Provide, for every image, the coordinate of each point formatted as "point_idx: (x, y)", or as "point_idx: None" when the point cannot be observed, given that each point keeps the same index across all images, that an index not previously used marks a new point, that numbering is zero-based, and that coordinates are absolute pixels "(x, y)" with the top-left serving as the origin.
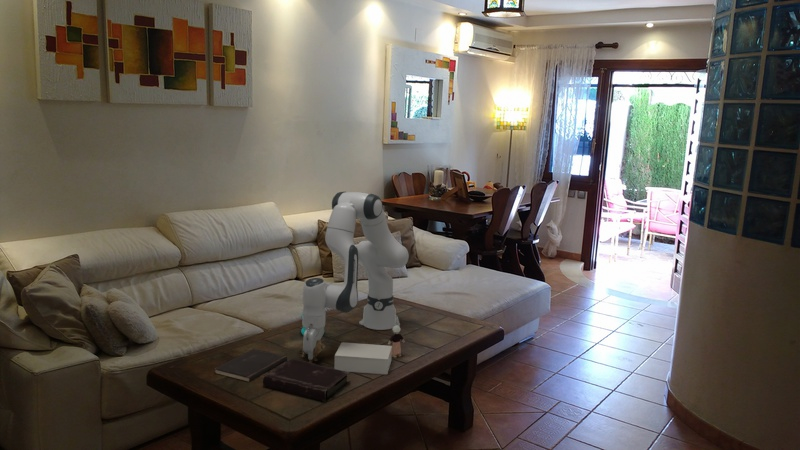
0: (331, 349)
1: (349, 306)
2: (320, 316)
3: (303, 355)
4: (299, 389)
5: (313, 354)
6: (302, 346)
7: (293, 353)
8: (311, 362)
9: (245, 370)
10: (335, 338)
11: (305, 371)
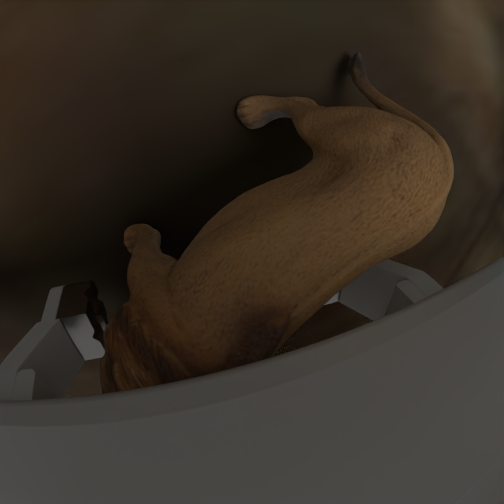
0: (404, 264)
1: None
2: None
3: (261, 116)
4: None
5: (100, 353)
6: (338, 110)
7: (331, 2)
8: (129, 250)
9: None
10: (489, 226)
11: None
